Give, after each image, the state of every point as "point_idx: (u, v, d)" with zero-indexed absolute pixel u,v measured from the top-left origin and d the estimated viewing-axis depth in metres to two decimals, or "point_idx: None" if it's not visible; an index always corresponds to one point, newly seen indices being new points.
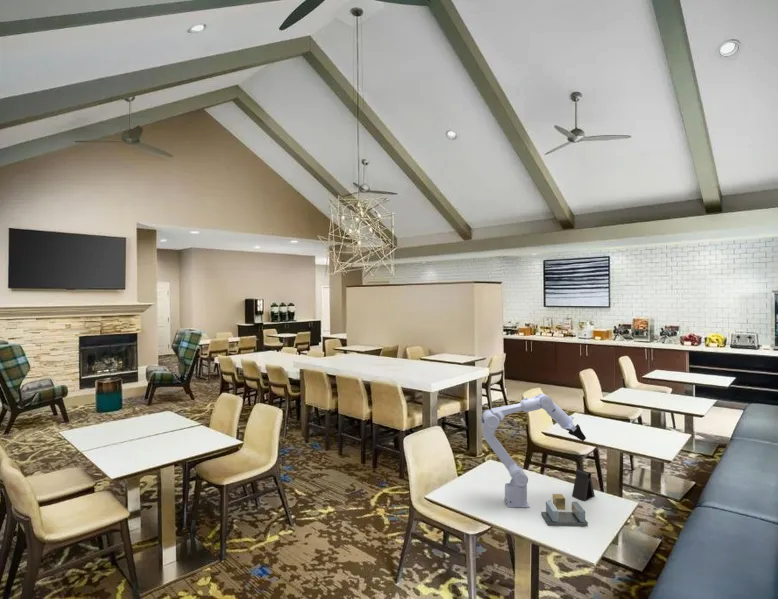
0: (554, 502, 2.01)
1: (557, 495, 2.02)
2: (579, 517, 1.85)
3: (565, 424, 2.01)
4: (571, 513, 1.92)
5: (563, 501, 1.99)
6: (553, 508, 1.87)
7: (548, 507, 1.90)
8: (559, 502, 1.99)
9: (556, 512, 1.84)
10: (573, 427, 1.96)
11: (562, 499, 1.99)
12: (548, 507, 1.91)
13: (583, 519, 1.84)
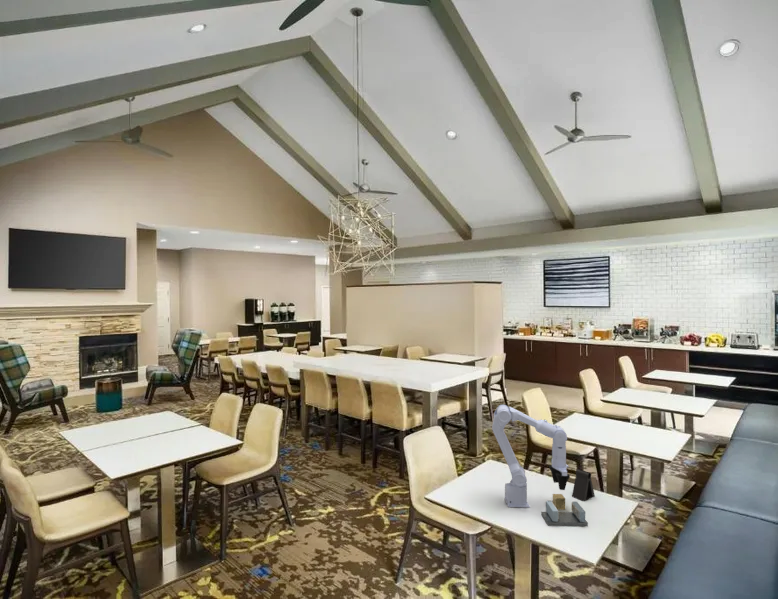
0: (554, 502, 2.01)
1: (557, 495, 2.01)
2: (579, 517, 1.85)
3: (559, 465, 1.98)
4: (571, 513, 1.92)
5: (563, 501, 1.99)
6: (553, 508, 1.87)
7: (548, 507, 1.90)
8: (559, 502, 1.99)
9: (556, 512, 1.84)
10: (565, 473, 1.93)
11: (562, 499, 1.99)
12: (548, 507, 1.91)
13: (583, 519, 1.84)
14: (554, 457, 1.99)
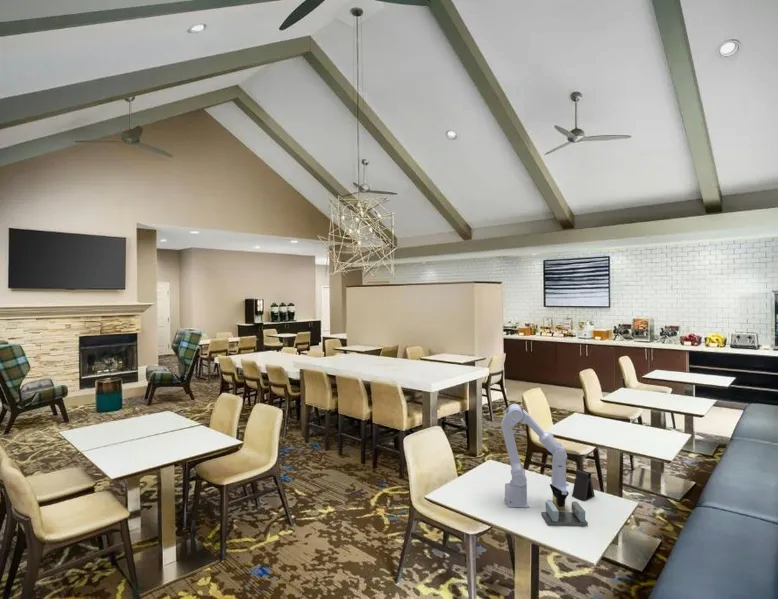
0: (554, 502, 2.01)
1: None
2: (579, 517, 1.85)
3: (558, 484, 1.98)
4: (571, 513, 1.92)
5: None
6: (553, 508, 1.87)
7: (548, 507, 1.90)
8: None
9: (556, 512, 1.84)
10: (565, 491, 1.94)
11: None
12: (548, 507, 1.91)
13: (583, 519, 1.84)
14: (554, 475, 1.99)
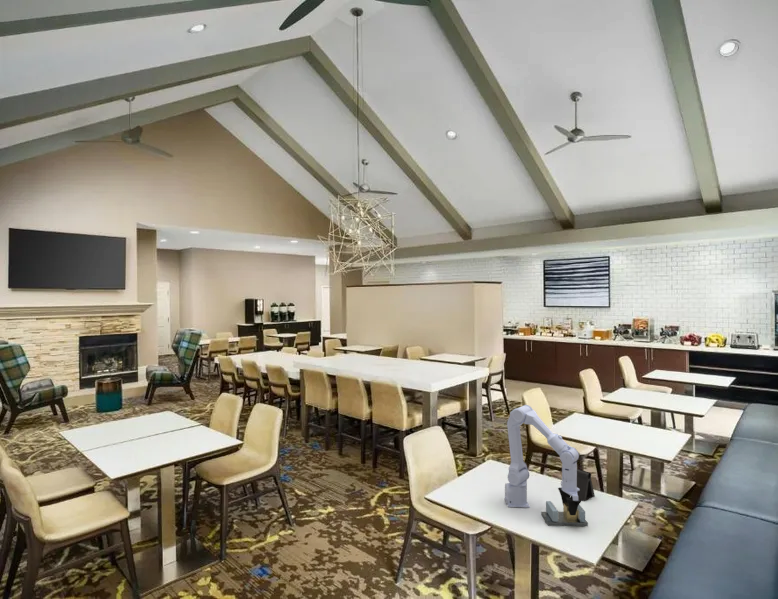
0: (565, 511, 1.89)
1: None
2: (579, 517, 1.85)
3: (569, 489, 1.86)
4: None
5: None
6: (553, 508, 1.87)
7: (548, 507, 1.90)
8: None
9: (556, 512, 1.84)
10: (576, 497, 1.81)
11: None
12: (548, 507, 1.91)
13: (583, 519, 1.84)
14: (564, 480, 1.87)
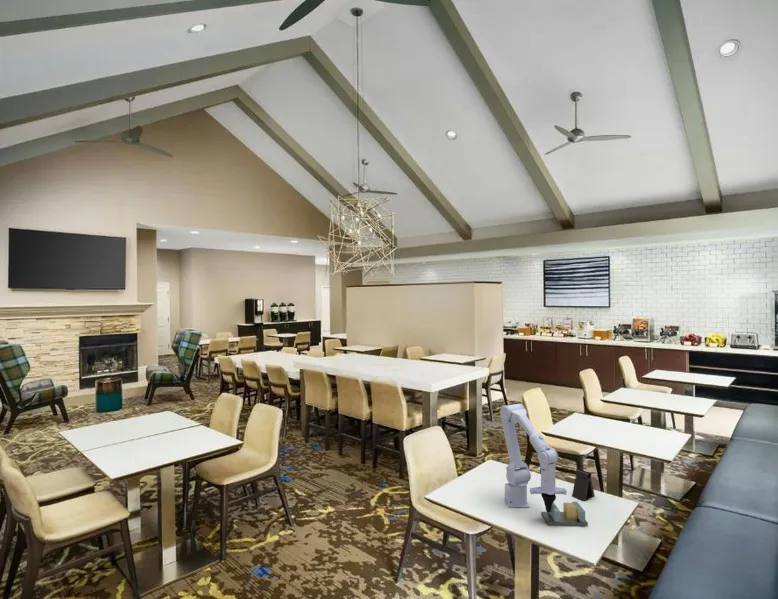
0: (565, 511, 1.89)
1: (568, 504, 1.89)
2: (579, 517, 1.85)
3: None
4: None
5: (574, 510, 1.87)
6: (555, 508, 1.87)
7: None
8: (571, 511, 1.87)
9: (558, 512, 1.84)
10: (530, 490, 1.89)
11: (574, 509, 1.87)
12: None
13: (583, 519, 1.84)
14: None
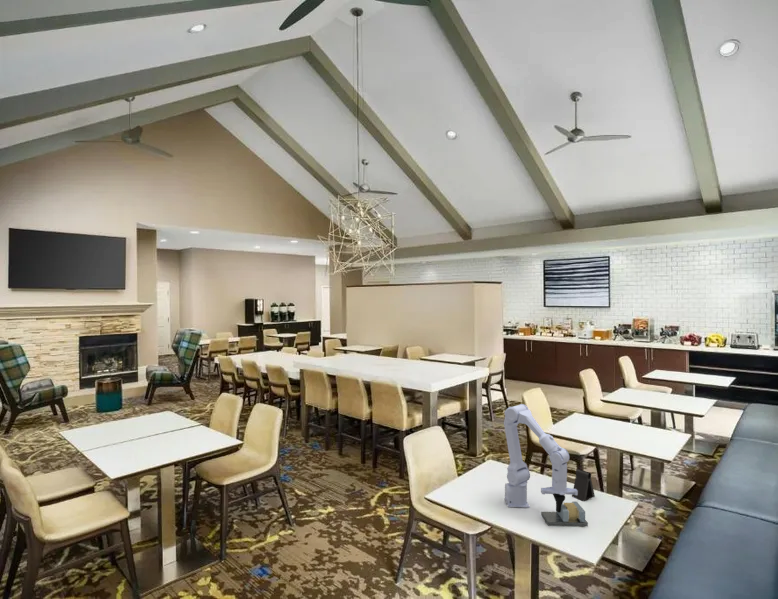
0: None
1: (568, 504, 1.89)
2: (579, 517, 1.85)
3: (552, 486, 1.90)
4: None
5: (575, 510, 1.87)
6: (563, 508, 1.87)
7: None
8: (571, 511, 1.87)
9: (567, 512, 1.84)
10: (541, 490, 1.89)
11: (574, 509, 1.87)
12: None
13: (583, 519, 1.84)
14: None
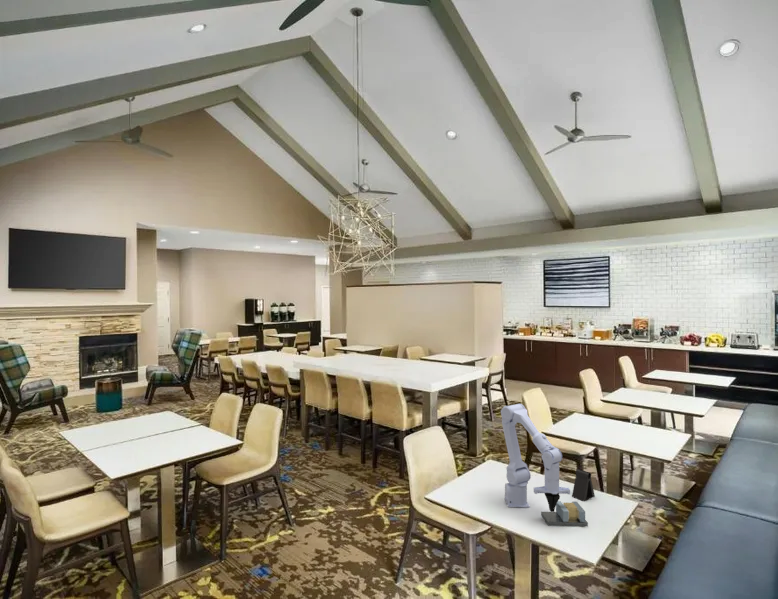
0: None
1: (568, 504, 1.89)
2: (579, 517, 1.85)
3: None
4: None
5: (574, 510, 1.87)
6: (563, 508, 1.87)
7: (558, 507, 1.90)
8: (571, 511, 1.87)
9: (566, 512, 1.84)
10: (534, 490, 1.89)
11: (574, 509, 1.87)
12: (558, 507, 1.91)
13: (583, 519, 1.84)
14: None
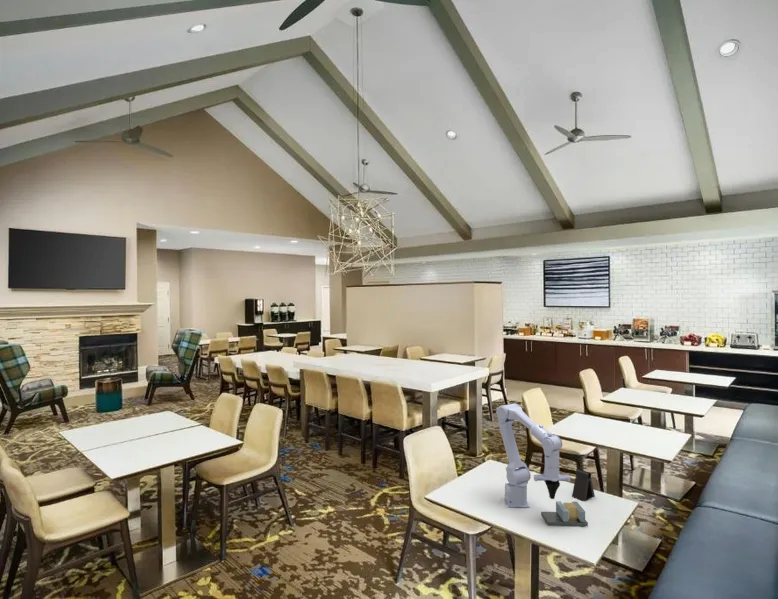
0: None
1: (568, 504, 1.89)
2: (579, 517, 1.85)
3: None
4: None
5: (574, 510, 1.87)
6: (563, 508, 1.87)
7: (558, 507, 1.90)
8: (571, 511, 1.87)
9: (566, 512, 1.84)
10: (534, 477, 1.89)
11: (574, 509, 1.87)
12: (558, 507, 1.91)
13: (583, 519, 1.84)
14: None
